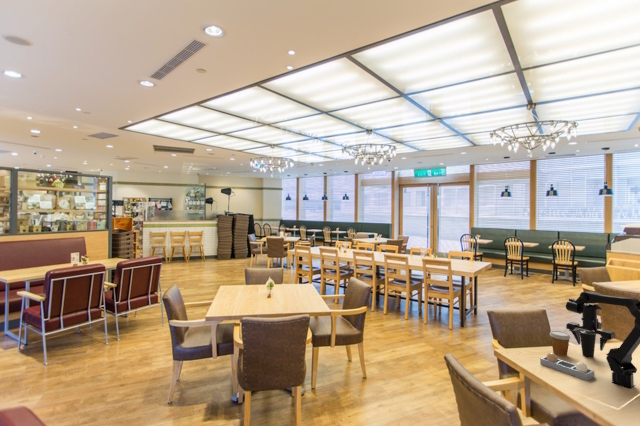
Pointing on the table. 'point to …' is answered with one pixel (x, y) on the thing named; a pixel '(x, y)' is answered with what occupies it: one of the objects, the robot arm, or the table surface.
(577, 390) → the table surface
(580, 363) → the cream egg
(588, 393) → the table surface
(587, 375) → the egg tray
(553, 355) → the brown egg
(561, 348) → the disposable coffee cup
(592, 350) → the drinking cup
